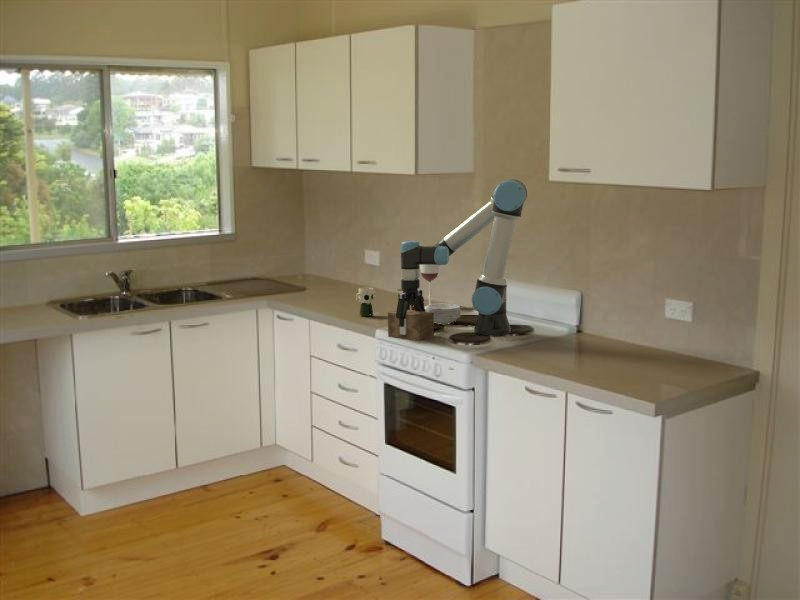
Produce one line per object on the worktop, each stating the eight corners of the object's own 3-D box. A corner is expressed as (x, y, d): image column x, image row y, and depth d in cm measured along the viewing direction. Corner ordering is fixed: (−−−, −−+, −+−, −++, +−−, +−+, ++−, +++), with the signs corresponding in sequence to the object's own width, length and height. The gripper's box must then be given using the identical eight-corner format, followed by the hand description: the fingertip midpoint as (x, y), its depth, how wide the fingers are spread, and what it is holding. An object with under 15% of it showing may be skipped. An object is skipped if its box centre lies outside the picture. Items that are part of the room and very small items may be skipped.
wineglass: (428, 309, 444) (428, 262, 441) (416, 307, 452) (415, 260, 449) (443, 307, 449) (443, 261, 446) (430, 305, 457) (430, 259, 454)
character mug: (360, 318, 423) (360, 290, 421) (352, 316, 429) (352, 288, 426) (380, 315, 429) (380, 288, 427) (371, 313, 435) (371, 286, 433)
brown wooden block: (433, 336, 379) (433, 312, 377) (419, 340, 371) (419, 316, 369) (402, 332, 388) (402, 309, 387) (388, 336, 380) (387, 312, 379)
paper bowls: (467, 322, 409) (467, 305, 408) (444, 327, 398) (444, 309, 397) (442, 318, 420) (442, 301, 418) (419, 323, 409) (419, 305, 408)
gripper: (418, 275, 387) (419, 327, 390) (386, 281, 369) (387, 335, 372) (433, 276, 382) (433, 328, 386) (401, 282, 365) (401, 337, 368)
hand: (410, 332), depth 379 cm, fingers closed on brown wooden block, 10 cm apart
